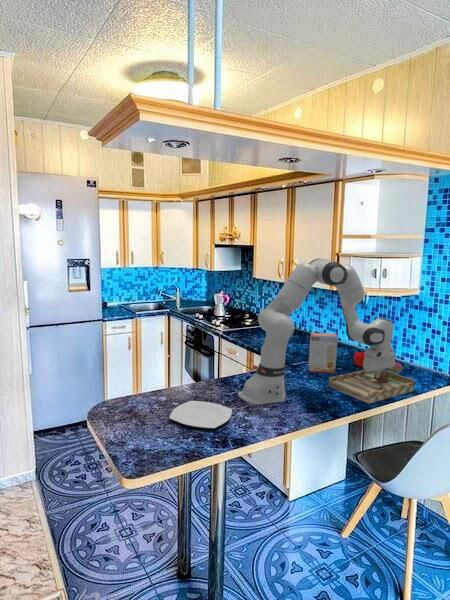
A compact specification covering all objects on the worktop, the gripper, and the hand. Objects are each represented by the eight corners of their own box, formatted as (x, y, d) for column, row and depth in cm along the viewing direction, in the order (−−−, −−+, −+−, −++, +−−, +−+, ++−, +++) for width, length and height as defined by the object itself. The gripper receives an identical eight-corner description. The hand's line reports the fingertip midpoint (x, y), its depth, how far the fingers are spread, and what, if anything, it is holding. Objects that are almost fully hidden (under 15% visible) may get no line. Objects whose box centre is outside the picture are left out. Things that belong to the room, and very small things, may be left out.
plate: (188, 402, 181) (188, 397, 181) (238, 412, 173) (238, 408, 173) (161, 423, 160) (161, 418, 160) (217, 436, 152) (217, 431, 152)
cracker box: (333, 370, 233) (336, 333, 229) (335, 374, 227) (338, 336, 223) (307, 368, 234) (310, 331, 231) (308, 372, 228) (311, 334, 225)
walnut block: (382, 382, 206) (384, 372, 206) (373, 378, 211) (375, 369, 210) (388, 382, 209) (390, 372, 209) (379, 379, 213) (381, 369, 213)
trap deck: (368, 403, 188) (369, 392, 187) (328, 386, 207) (329, 375, 207) (413, 391, 206) (415, 380, 205) (372, 376, 226) (373, 366, 225)
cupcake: (385, 375, 227) (387, 354, 226) (385, 371, 235) (387, 350, 234) (402, 378, 225) (405, 356, 223) (401, 373, 233) (403, 352, 231)
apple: (351, 367, 240) (352, 353, 239) (354, 363, 248) (355, 350, 247) (367, 370, 236) (369, 356, 235) (370, 366, 244) (371, 352, 243)
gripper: (388, 346, 214) (385, 372, 216) (362, 351, 203) (359, 378, 205) (399, 350, 209) (396, 376, 211) (373, 354, 198) (370, 382, 200)
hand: (378, 377), depth 208 cm, fingers closed, pressing on walnut block
